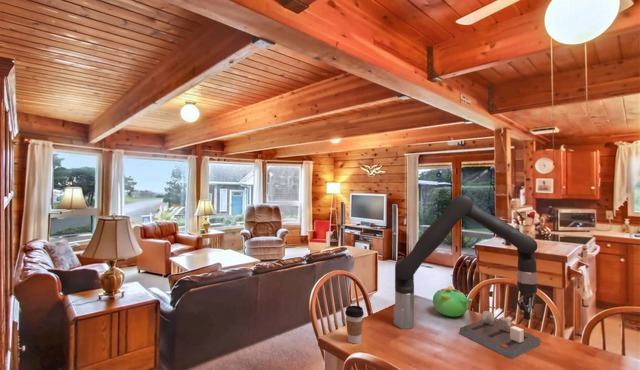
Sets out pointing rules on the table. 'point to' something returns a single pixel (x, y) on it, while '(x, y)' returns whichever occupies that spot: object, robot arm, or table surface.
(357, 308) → the coffee cup
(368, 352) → the table surface
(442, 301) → the green rounded blob
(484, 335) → the switch panel
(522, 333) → the white rectangular block
